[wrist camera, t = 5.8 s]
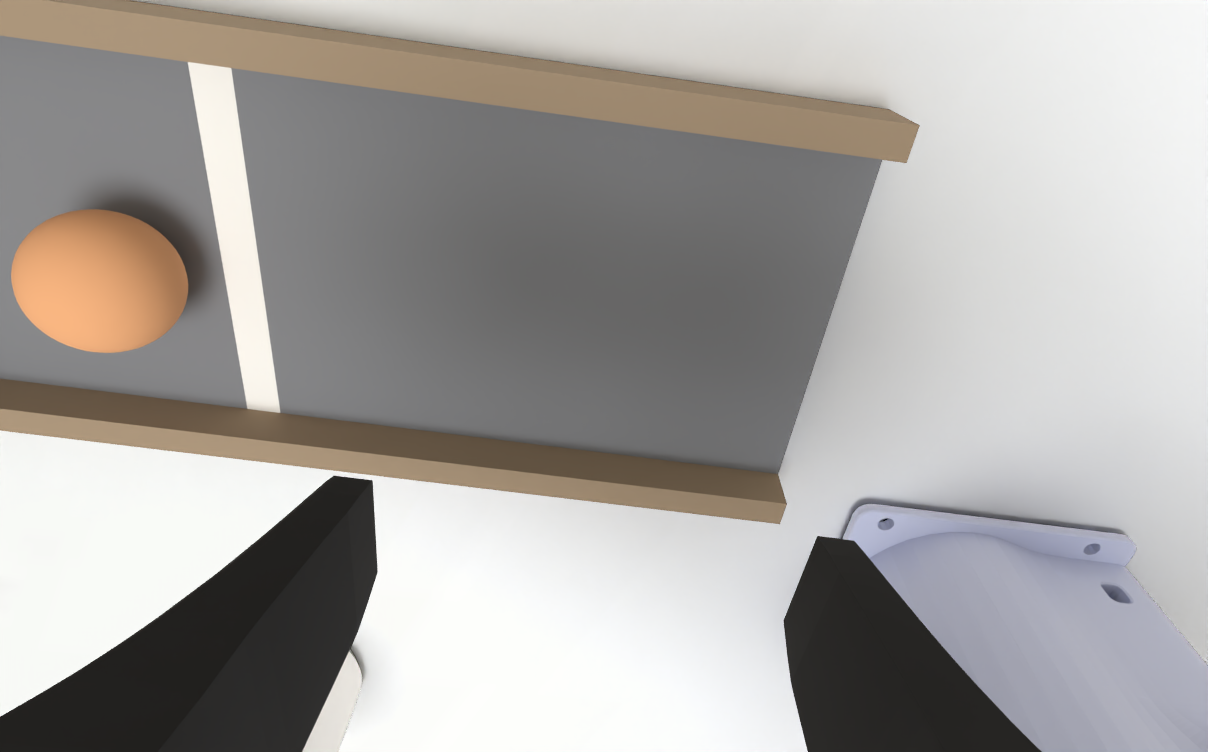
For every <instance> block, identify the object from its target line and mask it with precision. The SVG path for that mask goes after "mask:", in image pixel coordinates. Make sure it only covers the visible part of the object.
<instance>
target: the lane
mask: <svg viewBox="0 0 1208 752" xmlns="http://www.w3.org/2000/svg"><path fill="white" fill-rule="evenodd" d="M919 126H920V125H918V124H916V123H914V122H912V121H910V120H908V119H906V118H904V117H902V116H901V115H899V114H897V113H895V112H893V111H891V110H889V109H882V108H875V107H868V106H862V105H855V104H848V103H841V102H834V101H827V100H820V99H813V98H806V97H799V96H792V95H785V94H778V93H771V92H764V91H757V90H750V89H743V88H736V87H729V86H722V85H715V84H708V83H701V82H694V81H687V80H680V79H673V78H666V77H659V76H653V75H646V74H639V73H632V72H625V71H618V70H611V69H604V68H597V67H590V66H583V65H576V64H569V63H562V62H555V61H548V60H541V59H534V58H527V57H520V56H513V55H506V54H499V53H492V52H485V51H478V50H471V49H464V48H457V47H450V46H443V45H437V44H430V43H423V42H416V41H409V40H402V39H395V38H388V37H381V36H374V35H367V34H360V33H353V32H346V31H339V30H332V29H325V28H318V27H311V26H304V25H297V24H290V23H283V22H276V21H269V20H262V19H255V18H248V17H241V16H234V15H227V14H221V13H214V12H207V11H200V10H193V9H186V8H179V7H172V6H165V5H158V4H151V3H144V2H137V1H130V0H0V430H1V431H10V432H18V433H26V434H35V435H43V436H51V437H60V438H68V439H76V440H85V441H93V442H101V443H110V444H118V445H126V446H134V447H143V448H151V449H159V450H168V451H176V452H184V453H193V454H201V455H209V456H218V457H226V458H234V459H243V460H251V461H259V462H268V463H276V464H284V465H293V466H301V467H309V468H318V469H326V470H334V471H343V472H351V473H359V474H368V475H376V476H384V477H393V478H401V479H409V480H418V481H426V482H434V483H443V484H451V485H459V486H468V487H476V488H484V489H493V490H501V491H509V492H518V493H526V494H534V495H542V496H551V497H559V498H567V499H576V500H584V501H592V502H601V503H609V504H617V505H626V506H634V507H642V508H651V509H659V510H667V511H676V512H684V513H692V514H701V515H709V516H717V517H726V518H734V519H742V520H751V521H759V522H767V523H776V524H780V522H781V519H782V516H783V513H784V510H785V508H786V505H787V503H786V500H785V496H784V493H783V490H782V486H781V483H780V480H779V476H778V472H779V469H780V466H781V463H782V460H783V457H784V454H785V451H786V448H787V445H788V442H789V439H790V436H791V433H792V430H793V427H794V424H795V421H796V418H797V415H798V412H799V409H800V406H801V403H802V400H803V397H804V394H805V391H806V388H807V385H808V382H809V379H810V376H811V373H812V370H813V367H814V364H815V361H816V358H817V355H818V352H819V349H820V346H821V343H822V340H823V337H824V334H825V331H826V328H827V325H828V322H829V319H830V316H831V313H832V310H833V307H834V304H835V300H836V297H837V294H838V291H839V288H840V285H841V282H842V279H843V276H844V273H845V270H846V267H847V264H848V261H849V258H850V255H851V252H852V249H853V246H854V243H855V240H856V237H857V234H858V231H859V228H860V225H861V222H862V219H863V216H864V213H865V210H866V207H867V204H868V201H869V198H870V195H871V192H872V189H873V186H874V183H875V180H876V177H877V174H878V171H879V168H880V165H881V162H882V160H888V161H895V162H903V163H907V160H908V157H909V154H910V151H911V148H912V145H913V143H914V140H915V137H916V134H917V131H918V128H919ZM87 209H99V210H109V211H114V212H119V213H122V214H126V215H129V216H132V217H134V218H137V219H139V220H141V221H143V222H145V223H147V224H148V225H150V226H152V227H153V228H154V229H156V230H157V231H159V232H160V233H161V234H162V235H163V236H164V237H165V238H166V239H167V240H168V241H169V242H170V243H171V244H172V245H173V246H174V248H175V249H176V250H177V252H178V254H179V255H180V257H181V259H182V261H183V264H184V266H185V270H186V273H187V278H188V296H187V300H186V305H185V307H184V310H183V312H182V314H181V315H180V317H179V319H178V320H177V322H176V323H175V324H174V325H173V327H172V328H171V329H170V330H169V331H167V332H166V333H165V334H164V335H163V336H162V337H160V338H158V339H157V340H155V341H154V342H152V343H150V344H147V345H145V346H143V347H140V348H137V349H133V350H129V351H124V352H116V353H99V352H90V351H84V350H80V349H76V348H73V347H70V346H67V345H65V344H63V343H60V342H58V341H56V340H55V339H53V338H51V337H49V336H48V335H46V334H45V333H44V332H42V331H41V330H40V329H38V328H37V327H36V326H35V325H34V324H33V323H32V322H31V321H30V320H29V319H28V318H27V316H26V315H25V314H24V312H23V311H22V310H21V308H20V306H19V304H18V302H17V300H16V297H15V295H14V291H13V287H12V281H11V270H12V263H13V260H14V256H15V253H16V251H17V249H18V247H19V245H20V244H21V243H22V241H23V240H24V239H25V237H26V236H27V235H28V234H29V233H30V232H31V231H32V230H33V229H34V228H36V227H37V226H38V225H40V224H41V223H43V222H45V221H46V220H48V219H50V218H52V217H55V216H57V215H60V214H63V213H67V212H70V211H77V210H87Z"/></svg>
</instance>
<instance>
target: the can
mask: <svg viewBox="0 0 1208 752" xmlns="http://www.w3.org/2000/svg"><path fill="white" fill-rule="evenodd" d="M361 687H362V674H361V670H360V667H359V665H358V663H357V661H356V658H355V656H354V654H353V653H352V651H351V650H349V652H348V654H347V657H346V659H345V661H344V663H343V665H342V667H341V670H340V672H339V674H338V676H337V678H336V681H335V683H334V685H333V687H332V689H331V691H330V693H329V695H328V698H327V700H326V702H325V704H324V706H323V708H322V710H321V713H320V715H319V717H318V719H317V721H316V723H315V725H314V728H313V730H312V732H311V734H310V736H309V738H308V740H307V743H306V745H305V747H304V749H303V751H302V752H338V751H339V749H340V746H341V743H342V741H343V738H344V735H345V733H346V730H347V727H348V724H349V722H350V719H351V716H352V713H353V711H354V708H355V705H356V702H357V699H358V697H359V694H360V690H361Z"/></svg>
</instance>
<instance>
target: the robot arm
mask: <svg viewBox="0 0 1208 752" xmlns="http://www.w3.org/2000/svg"><path fill="white" fill-rule="evenodd" d="M885 518H889V519H888V520H886V521H884V522H879V521H880V520H882V519H885ZM1136 549H1137V548H1136V545H1135V543H1134V542H1133V541H1132V540H1131V539H1130V538H1129V537H1128V536H1126V535H1123V534H1116V533H1108V532H1100V531H1092V530H1083V529H1075V528H1067V527H1059V526H1051V525H1042V524H1034V523H1026V522H1018V521H1010V520H1001V519H993V518H985V517H977V516H969V515H960V514H952V513H944V512H936V511H928V510H919V509H911V508H903V507H895V506H886V505H878V504H865V505H862V506H860V507H859V508H857V509H856V510H855V511H854V513H853V515H852V517H851V520H850V522H849V524H848V527H847V529H846V531H845V534H844V536H843V539H836V538H828V537H820V536H817V539H816V541H815V544H814V546H813V549H812V551H811V554H810V556H809V559H808V561H807V564H806V566H805V569H804V571H803V574H802V576H801V579H800V581H799V584H798V586H797V589H796V591H795V594H794V596H793V598H792V601H791V603H790V606H789V608H788V611H787V613H786V616H785V618H784V628H785V638H786V647H787V656H788V663H789V670H790V678H791V684H792V688H793V693H794V697H795V701H796V705H797V709H798V713H799V717H800V722H801V726H802V730H803V734H804V738H805V742H806V746H807V750H808V752H1208V665H1207V664H1206V663H1205V662H1204V660H1203V659H1202V658H1201V657H1200V656H1199V654H1198V653H1197V652H1196V651H1195V650H1194V648H1193V647H1192V646H1191V645H1190V644H1189V642H1188V641H1187V640H1186V639H1185V638H1184V636H1183V635H1182V634H1181V633H1180V632H1179V630H1178V629H1177V628H1176V627H1175V626H1174V624H1173V623H1172V622H1171V621H1170V620H1169V619H1168V617H1167V616H1166V615H1165V614H1164V613H1163V611H1162V610H1161V609H1160V608H1159V607H1158V605H1157V604H1156V603H1155V602H1154V601H1153V599H1152V598H1151V597H1150V596H1149V595H1148V593H1147V592H1146V591H1145V590H1144V589H1143V587H1142V586H1141V585H1140V584H1139V583H1138V581H1137V580H1136V579H1135V578H1134V577H1133V575H1132V574H1131V573H1130V572H1129V571H1128V569H1127V568H1126V567H1125V566H1126V565H1127V563H1128V562H1129V561H1130V559H1131V558H1132V557H1133V555H1134V554H1135V552H1136ZM376 575H377V554H376V536H375V518H374V500H373V482H372V480H364V479H356V478H348V477H340V476H333V477H332V478H330V479H329V480H327V481H326V482H325V483H324V484H323V485H321V486H320V487H319V488H318V489H317V490H316V491H314V492H313V493H312V494H311V495H310V496H309V497H308V498H306V499H305V500H304V501H303V502H302V503H301V504H300V505H298V506H297V507H296V508H295V509H294V510H293V511H292V512H290V513H289V514H288V515H287V516H286V517H285V518H283V519H282V520H281V521H280V522H279V523H278V524H276V525H275V526H274V527H273V528H272V529H270V530H269V531H268V532H267V533H266V534H265V535H263V536H262V537H261V538H260V539H259V540H257V541H256V542H255V543H254V544H252V545H251V546H250V547H249V548H248V549H246V550H245V551H244V552H243V553H241V554H240V555H239V556H238V557H236V558H235V559H234V560H233V561H232V562H230V563H229V564H228V565H227V566H225V567H224V568H223V569H222V570H220V571H219V572H218V573H217V574H215V575H214V576H213V577H212V578H210V579H209V580H208V581H206V582H205V583H204V584H202V585H201V586H200V587H198V588H197V589H195V590H194V591H193V592H191V593H190V594H189V595H187V596H186V597H185V598H183V599H182V600H181V601H179V602H178V603H177V604H175V605H174V606H173V607H171V608H170V609H169V610H167V611H166V612H165V613H163V614H162V615H161V616H159V617H158V618H156V619H155V620H154V621H152V622H151V623H149V624H148V625H146V626H145V627H144V628H142V629H141V630H139V631H138V632H136V633H135V634H134V635H132V636H131V637H129V638H128V639H126V640H125V641H123V642H122V643H120V644H119V645H117V646H116V647H114V648H113V649H111V650H110V651H108V652H107V653H105V654H103V655H102V656H100V657H99V658H97V659H96V660H94V661H93V662H91V663H90V664H88V665H87V666H85V667H83V668H82V669H80V670H79V671H77V672H76V673H74V674H72V675H71V676H69V677H67V678H66V679H64V680H62V681H61V682H59V683H57V684H56V685H54V686H52V687H51V688H49V689H47V690H46V691H44V692H42V693H41V694H39V695H37V696H35V697H34V698H32V699H30V700H28V701H27V702H25V703H23V704H22V705H20V706H18V707H16V708H15V709H13V710H11V711H9V712H8V713H6V714H4V715H3V716H1V717H0V752H302V751H303V749H304V747H305V745H306V743H307V740H308V738H309V736H310V734H311V732H312V730H313V728H314V725H315V723H316V721H317V719H318V717H319V715H320V713H321V710H322V708H323V706H324V704H325V702H326V700H327V698H328V695H329V693H330V691H331V689H332V687H333V685H334V683H335V681H336V678H337V676H338V674H339V672H340V670H341V667H342V665H343V663H344V661H345V659H346V657H347V654H348V652H349V650H350V648H351V646H352V644H353V641H354V639H355V637H356V635H357V632H358V630H359V627H360V624H361V621H362V618H363V615H364V612H365V609H366V606H367V603H368V600H369V597H370V594H371V591H372V587H373V584H374V581H375V578H376Z"/></svg>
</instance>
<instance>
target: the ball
mask: <svg viewBox="0 0 1208 752" xmlns="http://www.w3.org/2000/svg"><path fill="white" fill-rule="evenodd" d="M11 281H12V287H13V291H14V295H15V297H16V300H17V302H18V304H19V306H20V308H21V310H22V311H23V312H24V314H25V315H26V316H27V318H28V319H29V320H30V321H31V322H32V323H33V324H34V325H35V326H36V327H37V328H38V329H40V330H41V331H42V332H44V333H45V334H46V335H48V336H49V337H51V338H53V339H55V340H56V341H58V342H60V343H63V344H65V345H67V346H70V347H73V348H76V349H80V350H84V351H90V352H99V353H116V352H124V351H129V350H133V349H137V348H140V347H143V346H145V345H147V344H150V343H152V342H154V341H155V340H157V339H158V338H160V337H162V336H163V335H164V334H165V333H166V332H167V331H169V330H170V329H171V328H172V327H173V325H174V324H175V323H176V322H177V320H178V319H179V317H180V315H181V314H182V312H183V310H184V307H185V305H186V300H187V296H188V278H187V273H186V270H185V266H184V264H183V261H182V259H181V257H180V255H179V254H178V252H177V250H176V249H175V248H174V246H173V245H172V244H171V243H170V242H169V241H168V240H167V239H166V238H165V237H164V236H163V235H162V234H161V233H160V232H159V231H157V230H156V229H154V228H153V227H152V226H150V225H148V224H147V223H145V222H143V221H141V220H139V219H137V218H134V217H132V216H129V215H126V214H122V213H119V212H114V211H109V210H99V209H87V210H77V211H70V212H67V213H63V214H60V215H57V216H55V217H52V218H50V219H48V220H46V221H45V222H43V223H41V224H40V225H38V226H37V227H36V228H34V229H33V230H32V231H31V232H30V233H29V234H28V235H27V236H26V237H25V239H24V240H23V241H22V243H21V244H20V245H19V247H18V249H17V251H16V253H15V256H14V260H13V263H12V270H11Z"/></svg>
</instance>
